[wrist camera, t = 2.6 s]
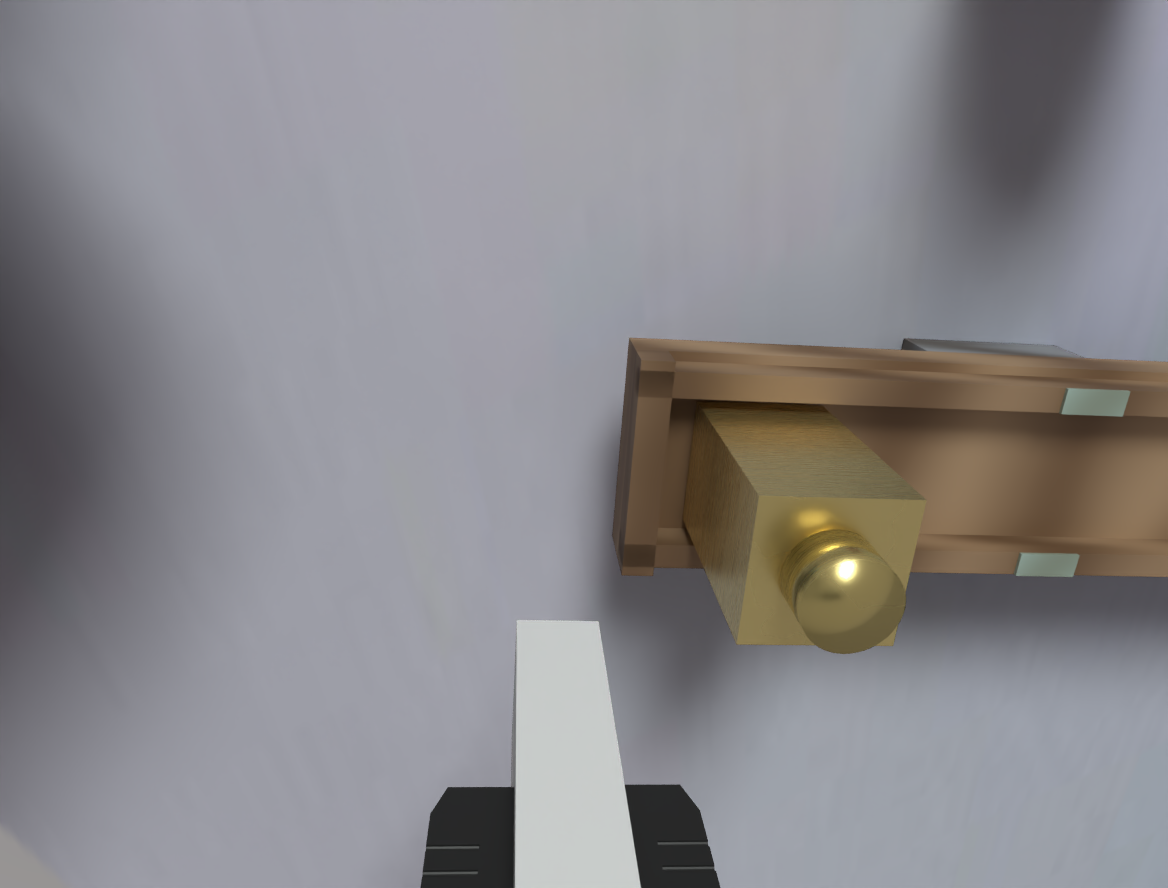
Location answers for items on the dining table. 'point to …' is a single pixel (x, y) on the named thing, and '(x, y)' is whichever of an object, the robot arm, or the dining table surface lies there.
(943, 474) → the beam
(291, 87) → the dining table surface
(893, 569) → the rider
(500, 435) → the dining table surface
